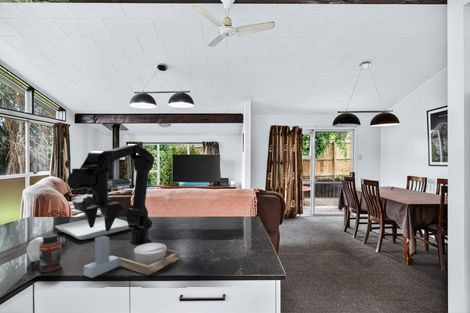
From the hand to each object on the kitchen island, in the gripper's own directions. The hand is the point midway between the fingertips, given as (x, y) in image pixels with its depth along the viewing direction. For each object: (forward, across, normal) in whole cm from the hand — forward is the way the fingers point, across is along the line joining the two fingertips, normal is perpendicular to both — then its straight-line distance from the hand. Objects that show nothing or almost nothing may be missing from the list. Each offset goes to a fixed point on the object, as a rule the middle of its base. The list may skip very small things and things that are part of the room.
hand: (99, 229), depth 93 cm
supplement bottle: (+12, -9, -12) cm, 19 cm away
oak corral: (+12, +16, +8) cm, 22 cm away
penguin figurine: (+12, -21, -8) cm, 25 cm away
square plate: (+12, -37, +22) cm, 45 cm away
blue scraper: (+12, +8, -4) cm, 14 cm away
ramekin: (+12, +16, +8) cm, 22 cm away
